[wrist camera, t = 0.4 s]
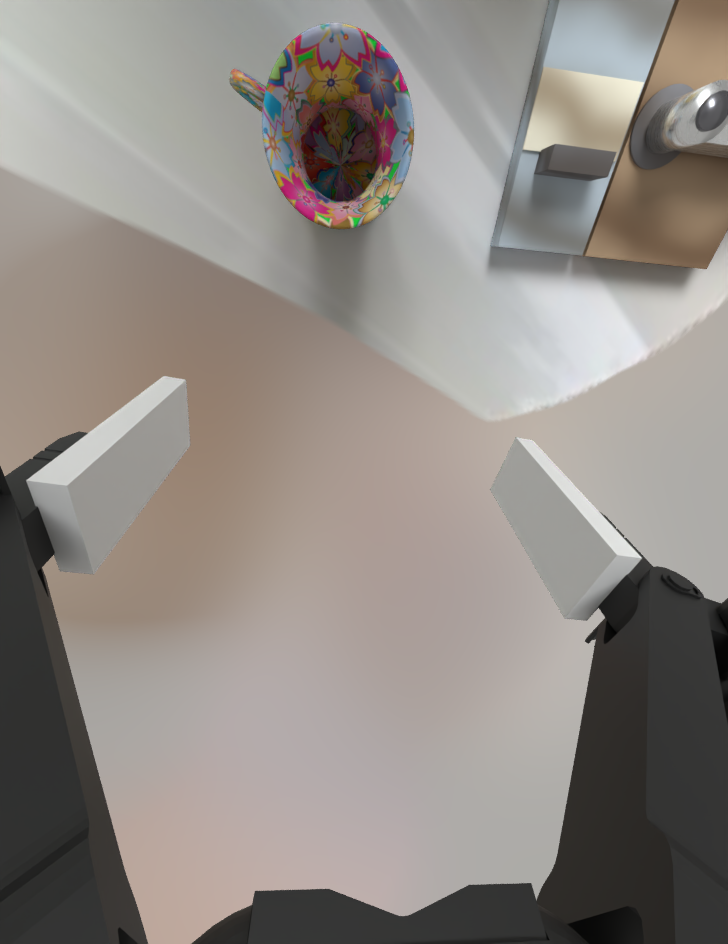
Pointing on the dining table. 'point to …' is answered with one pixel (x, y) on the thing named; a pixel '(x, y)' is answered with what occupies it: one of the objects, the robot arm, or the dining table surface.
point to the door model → (617, 136)
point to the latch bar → (692, 123)
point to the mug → (335, 124)
